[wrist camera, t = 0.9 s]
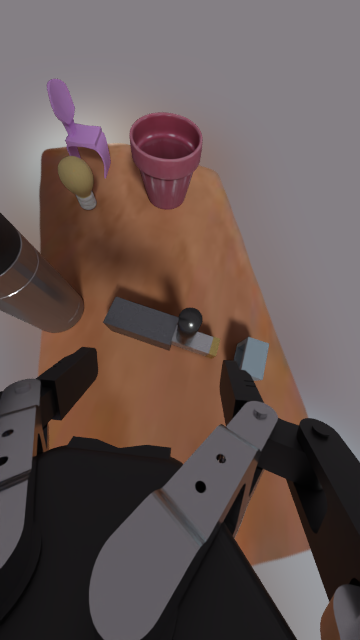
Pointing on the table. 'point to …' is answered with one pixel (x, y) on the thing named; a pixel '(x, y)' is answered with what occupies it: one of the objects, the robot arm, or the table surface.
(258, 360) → the socket
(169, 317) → the sleeve
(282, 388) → the table surface
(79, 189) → the light bulb
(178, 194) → the plant pot
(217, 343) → the block with knob
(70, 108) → the toy chair
